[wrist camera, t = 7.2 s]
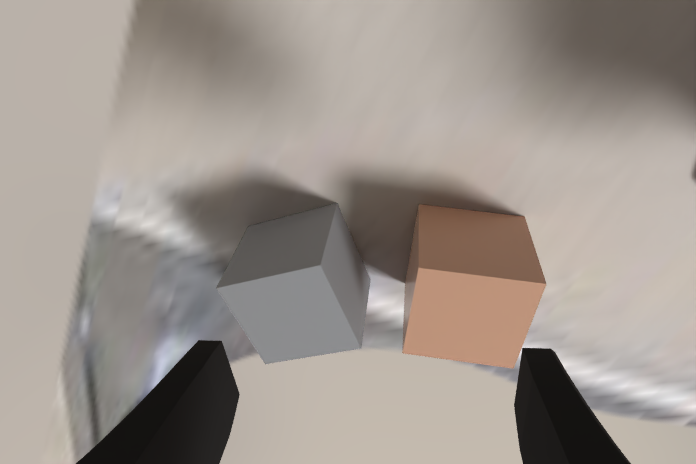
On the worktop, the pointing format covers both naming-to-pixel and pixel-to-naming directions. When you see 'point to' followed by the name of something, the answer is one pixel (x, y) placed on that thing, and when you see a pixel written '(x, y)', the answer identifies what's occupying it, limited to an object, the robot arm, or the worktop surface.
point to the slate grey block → (298, 286)
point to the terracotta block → (470, 286)
